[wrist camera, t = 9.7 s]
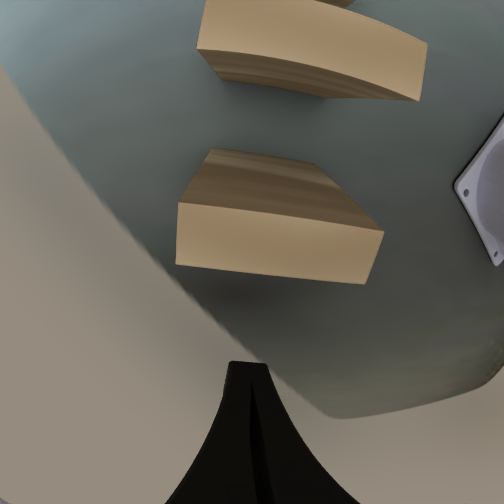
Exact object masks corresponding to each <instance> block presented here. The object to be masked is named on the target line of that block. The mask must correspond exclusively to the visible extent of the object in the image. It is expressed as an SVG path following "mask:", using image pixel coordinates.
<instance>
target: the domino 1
mask: <svg viewBox="0 0 504 504" xmlns="http://www.w3.org/2000/svg"><path fill="white" fill-rule="evenodd" d="M196 49H197V50H198V51H199V52H200V54H201V55H202V56H203V57H204V58H205V60H206V61H207V62H208V63H209V65H210V66H211V67H212V68H213V69H214V71H215V72H216V73H217V74H218V76H219V77H220V78H221V79H222V80H229V81H237V82H245V83H252V84H259V85H265V86H271V87H277V88H282V89H287V90H292V91H297V92H302V93H307V94H311V95H315V96H320V97H324V98H373V99H393V100H407V101H418V102H419V99H420V94H421V88H422V82H423V75H424V68H425V61H426V52H427V43H425V42H423V41H421V40H419V39H417V38H415V37H413V36H411V35H409V34H407V33H405V32H402V31H400V30H398V29H396V28H393V27H391V26H389V25H386V24H384V23H382V22H379V21H377V20H374V19H371V18H369V17H366V16H363V15H361V14H358V13H355V12H352V11H349V10H346V9H343V8H340V7H336V6H333V5H330V4H326V3H322V2H319V1H315V0H206V4H205V8H204V13H203V17H202V22H201V27H200V32H199V38H198V43H197V48H196Z"/></svg>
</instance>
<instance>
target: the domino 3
mask: <svg viewBox="0 0 504 504" xmlns="http://www.w3.org/2000/svg"><path fill="white" fill-rule="evenodd" d="M315 1H319V2H322V3H326V4H330V5H333V6H336V7H340V8H343V9H344V8H346V7H347V6H348V5H350V4H351V3H352V2H353V1H355V0H315Z"/></svg>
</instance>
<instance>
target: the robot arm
mask: <svg viewBox="0 0 504 504" xmlns="http://www.w3.org/2000/svg"><path fill="white" fill-rule="evenodd" d="M454 188H455V191H456V193H457V195H458V196H459V198H460V200H461V201H462V203H463V205H464V207H465V208H466V210H467V212H468V214H469V216H470V218H471V219H472V221H473V223H474V225H475V227H476V229H477V231H478V233H479V235H480V237H481V239H482V241H483V243H484V245H485V247H486V249H487V252H488V254H489V256H490V258H491V261H492V263H493V264H494V265H495V266H498V265H499V264H500V263H501V262H502V261H503V259H504V117H503V119H502V120H501V121H500V123H499V124H498V126H497V127H496V129H495V130H494V132H493V133H492V134H491V136H490V137H489V139H488V140H487V141H486V143H485V144H484V146H483V147H482V148H481V150H480V151H479V152H478V154H477V155H476V156H475V158H474V159H473V160H472V161H471V163H470V164H469V165H468V167H467V168H466V169H465V170H464V172H463V173H462V174H461V175H460V177H459V178H458V179H457V180H456V182H455V185H454ZM464 190H465V193H464ZM463 193H464V194H463ZM0 504H10V503H8V502H6V501H5V500H3V499H1V498H0ZM165 504H360V503H359V502H357V501H356V500H355V499H354V498H353V497H352V496H351V495H349V494H348V493H347V492H346V491H345V490H344V489H343V488H342V487H341V486H340V485H339V484H338V483H337V482H336V481H335V480H334V479H333V478H332V477H331V476H330V475H329V473H328V472H327V471H326V470H325V469H324V468H323V467H322V465H321V464H320V463H319V462H318V460H317V459H316V458H315V456H314V455H313V454H312V452H311V451H310V450H309V448H308V447H307V445H306V444H305V443H304V441H303V439H302V438H301V436H300V435H299V433H298V432H297V430H296V428H295V426H294V425H293V423H292V421H291V419H290V417H289V415H288V413H287V412H286V410H285V408H284V406H283V404H282V402H281V399H280V398H279V395H278V393H277V390H276V388H275V386H274V383H273V381H272V378H271V375H270V372H269V369H268V366H267V365H266V364H265V363H253V362H242V361H231V362H229V365H228V370H227V375H226V379H225V384H224V390H223V397H222V400H221V403H220V406H219V409H218V412H217V414H216V417H215V419H214V421H213V424H212V426H211V429H210V431H209V433H208V435H207V437H206V439H205V441H204V443H203V445H202V447H201V449H200V451H199V453H198V454H197V456H196V458H195V460H194V461H193V463H192V465H191V467H190V468H189V470H188V471H187V473H186V475H185V476H184V478H183V479H182V481H181V482H180V484H179V485H178V487H177V488H176V489H175V491H174V492H173V494H172V495H171V496H170V498H169V499H168V500H167V502H166V503H165Z"/></svg>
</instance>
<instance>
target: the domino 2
mask: <svg viewBox="0 0 504 504" xmlns="http://www.w3.org/2000/svg"><path fill="white" fill-rule="evenodd" d="M383 235H384V231H383V229H382V228H381V227H380V226H379V225H378V224H377V223H376V222H375V221H374V220H373V219H372V218H371V217H370V216H369V215H368V214H367V213H366V212H365V211H364V210H363V209H362V208H361V207H360V206H359V205H358V204H357V203H356V202H355V201H354V200H353V199H352V198H351V197H349V196H348V195H347V194H346V193H345V192H344V191H343V190H342V189H341V188H340V187H339V186H338V185H337V184H336V183H335V182H333V181H332V180H331V179H330V178H329V177H328V176H327V175H326V174H325V173H324V172H322V171H321V170H320V169H319V168H318V167H317V166H316V165H315V164H313V163H308V162H303V161H297V160H292V159H286V158H280V157H274V156H268V155H261V154H254V153H247V152H240V151H232V150H224V149H215V148H212V149H211V150H210V152H209V153H208V155H207V157H206V158H205V160H204V161H203V163H202V164H201V166H200V168H199V169H198V171H197V172H196V174H195V176H194V177H193V179H192V181H191V182H190V184H189V186H188V187H187V189H186V191H185V192H184V194H183V196H182V197H181V199H180V201H179V203H178V220H177V242H176V264H179V265H187V266H195V267H203V268H212V269H220V270H229V271H238V272H247V273H256V274H265V275H274V276H284V277H293V278H303V279H313V280H323V281H334V282H344V283H355V284H365V283H366V280H367V278H368V275H369V273H370V270H371V268H372V265H373V263H374V260H375V257H376V255H377V252H378V249H379V246H380V244H381V241H382V238H383Z"/></svg>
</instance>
